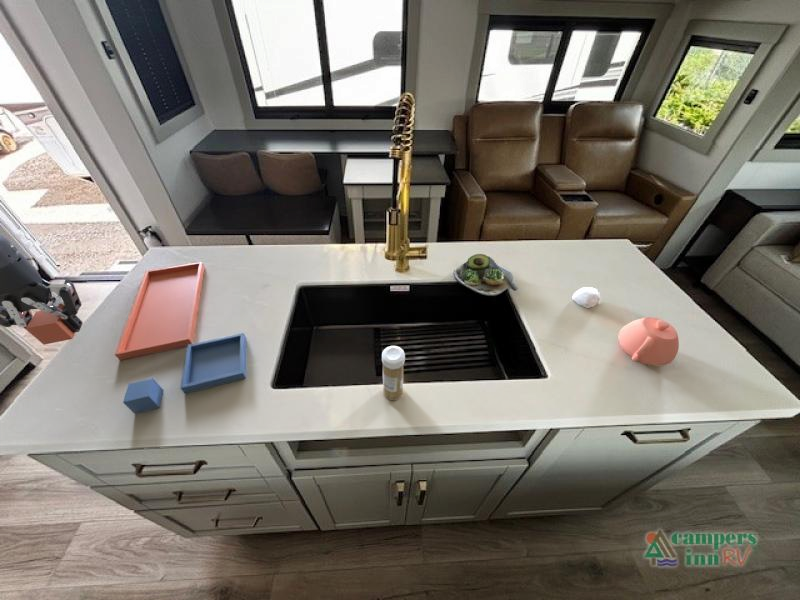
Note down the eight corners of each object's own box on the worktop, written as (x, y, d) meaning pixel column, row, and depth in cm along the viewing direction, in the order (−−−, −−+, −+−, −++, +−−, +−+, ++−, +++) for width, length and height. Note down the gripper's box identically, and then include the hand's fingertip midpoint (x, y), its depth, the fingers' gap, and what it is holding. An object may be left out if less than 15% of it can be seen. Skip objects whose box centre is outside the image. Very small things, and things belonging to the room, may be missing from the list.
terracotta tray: (119, 360, 76) (114, 354, 75) (149, 276, 100) (145, 270, 98) (192, 344, 80) (189, 339, 79) (204, 267, 104) (202, 261, 102)
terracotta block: (43, 344, 60) (24, 328, 57) (53, 327, 63) (36, 311, 60) (72, 338, 61) (56, 322, 58) (81, 322, 64) (65, 306, 61)
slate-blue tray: (184, 393, 70) (180, 388, 69) (191, 350, 79) (187, 344, 78) (246, 378, 74) (243, 373, 72) (246, 338, 82) (243, 332, 81)
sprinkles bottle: (407, 392, 72) (409, 354, 63) (392, 404, 70) (392, 367, 61) (393, 379, 74) (394, 341, 65) (378, 391, 72) (376, 353, 63)
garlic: (583, 290, 100) (588, 280, 97) (603, 302, 96) (609, 293, 93) (567, 299, 97) (571, 289, 94) (587, 312, 92) (592, 302, 90)
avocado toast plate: (529, 283, 102) (534, 271, 99) (497, 309, 93) (501, 297, 89) (479, 256, 112) (482, 245, 109) (446, 277, 103) (447, 265, 100)
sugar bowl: (675, 353, 82) (701, 325, 75) (655, 384, 75) (682, 356, 68) (625, 325, 89) (645, 298, 82) (602, 352, 82) (622, 324, 75)
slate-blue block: (134, 413, 67) (122, 402, 64) (139, 395, 70) (128, 383, 67) (159, 407, 68) (148, 396, 65) (163, 389, 71) (153, 377, 68)
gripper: (-93, 284, 46) (5, 357, 57) (31, 265, 49) (100, 337, 61) (-59, 254, 51) (25, 327, 63) (51, 239, 54) (111, 310, 66)
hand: (62, 331), depth 62 cm, fingers closed on terracotta block, 4 cm apart
